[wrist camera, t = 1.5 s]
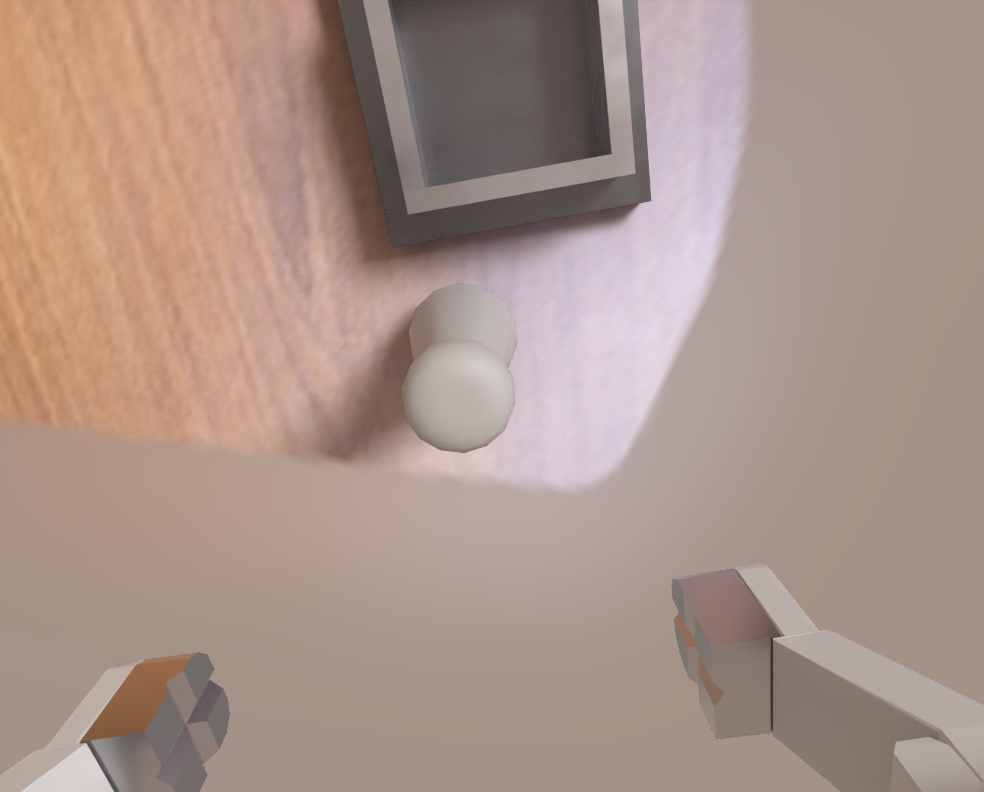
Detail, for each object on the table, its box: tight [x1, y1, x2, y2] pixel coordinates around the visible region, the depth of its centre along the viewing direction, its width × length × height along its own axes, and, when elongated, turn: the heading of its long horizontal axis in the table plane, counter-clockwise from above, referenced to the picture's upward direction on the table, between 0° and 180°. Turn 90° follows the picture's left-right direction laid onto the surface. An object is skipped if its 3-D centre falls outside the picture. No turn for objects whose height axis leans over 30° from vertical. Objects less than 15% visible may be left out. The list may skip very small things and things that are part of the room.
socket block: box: [337, 0, 651, 247], centre depth 26 cm, size 14×14×4 cm
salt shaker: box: [401, 283, 517, 453], centre depth 26 cm, size 6×6×13 cm
